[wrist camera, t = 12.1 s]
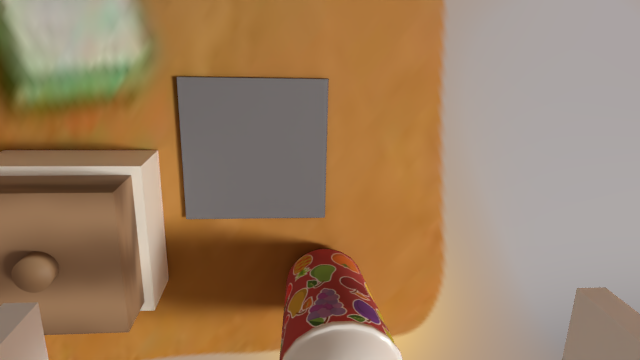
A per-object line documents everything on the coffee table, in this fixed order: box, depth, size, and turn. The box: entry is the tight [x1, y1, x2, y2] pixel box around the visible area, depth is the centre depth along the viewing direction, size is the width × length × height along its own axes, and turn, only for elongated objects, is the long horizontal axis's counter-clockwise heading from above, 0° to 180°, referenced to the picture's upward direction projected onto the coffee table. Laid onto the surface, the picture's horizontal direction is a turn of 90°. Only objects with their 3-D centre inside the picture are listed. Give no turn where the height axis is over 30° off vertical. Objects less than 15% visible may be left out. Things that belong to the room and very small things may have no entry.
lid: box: [0, 175, 144, 335], centre depth 32 cm, size 10×10×5 cm
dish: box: [0, 150, 169, 311], centre depth 37 cm, size 12×12×5 cm
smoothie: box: [280, 249, 403, 360], centre depth 34 cm, size 8×8×20 cm
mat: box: [177, 77, 328, 219], centre depth 39 cm, size 12×12×1 cm
